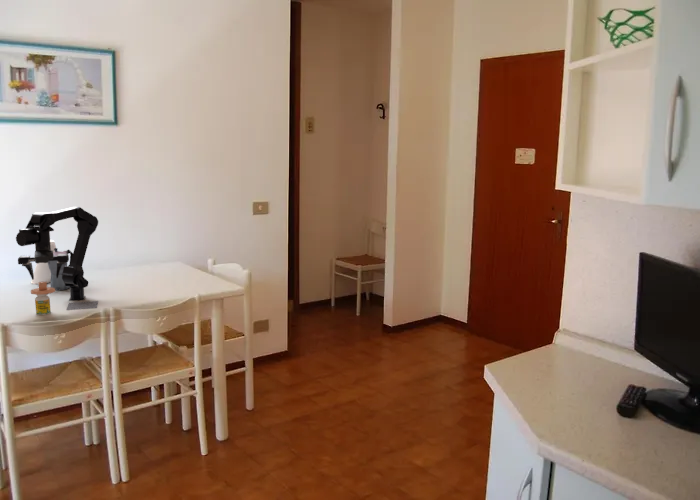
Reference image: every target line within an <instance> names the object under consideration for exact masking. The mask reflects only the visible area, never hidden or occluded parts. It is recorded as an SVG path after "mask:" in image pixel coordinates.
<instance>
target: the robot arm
mask: <svg viewBox="0 0 700 500" xmlns="http://www.w3.org/2000/svg"><path fill="white" fill-rule="evenodd" d="M71 218H73V220H74V221H75V222H76V227H77V231H78V234H77V238H76V243H75V245H74V250H73V252H72V253H73V256H72V259H71V263H70V257H69V256H70V255H69V254H58V256H54V255H53V251H51V245H50V240H51V233H50V232H54V231H55V229H54V228H53V227H51V226H52V225H55V223H56V222H59V221H63V220H67V219H71ZM98 226H99V220H98V218H97V216H95V215H93V214H91V213H90V212H88V211H86V210H84V209H83V208H82V207H80V206H70V207H68V208H63V209H59V210H55V211H49V212H33V213H32V214H31V217H30V219H29V221H28V223H27V225H26V226H25V228H20V229H18V233H17V234H16V236H15V240H16V243H17V244H18V246H20V247H25V246H31V245H34V247H35V248H34V249H35V251H34V256H31V255H30V254H29V255H27V254H26V255H25V254H24V255H23V254H22V255H20V256H19V257H18V258H17V265H21V267H25V269H26V270H27V271H28V273H29V276H30V278H31V281H32V280H34V269H33V263H34V262H35V264H37V263H47V262H48V261H58V262H57V273H56V277H57V278H58V276H59V272H60V269H61V266H62V264H65V262H67V263H68V262H69V264H67V266H64V268H63V273H62V274H61V275H62V280H63V282H64V283H65V286H69V287H70V288H69V294H70V295H69V299H68V301H71V302H73V301H74V302H75V301H85V300H86V295H85V289H84V288H87V287H88V286H89V281H88V279H86V278H85V277H84V274H85V272H84V268H83V263H84V261H85V260H84V259H85V257H86V253H87V249H88V246H89V243H90V239H91V235H93V234H94V233H95V232H96V230H97V227H98Z"/></svg>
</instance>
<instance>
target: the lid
mask: <svg viewBox="0 0 700 500" xmlns="http://www.w3.org/2000/svg"><path fill="white" fill-rule="evenodd" d="M37 285H38V287H37V288H33V289H31V290H30V294H31V295H36V294H37V295H41V294H47V295H49V294H53V293H56V290H55V288H51V286H49V287H48V283H47V282H39V283H38V284H37ZM37 295H36V296H37Z"/></svg>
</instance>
